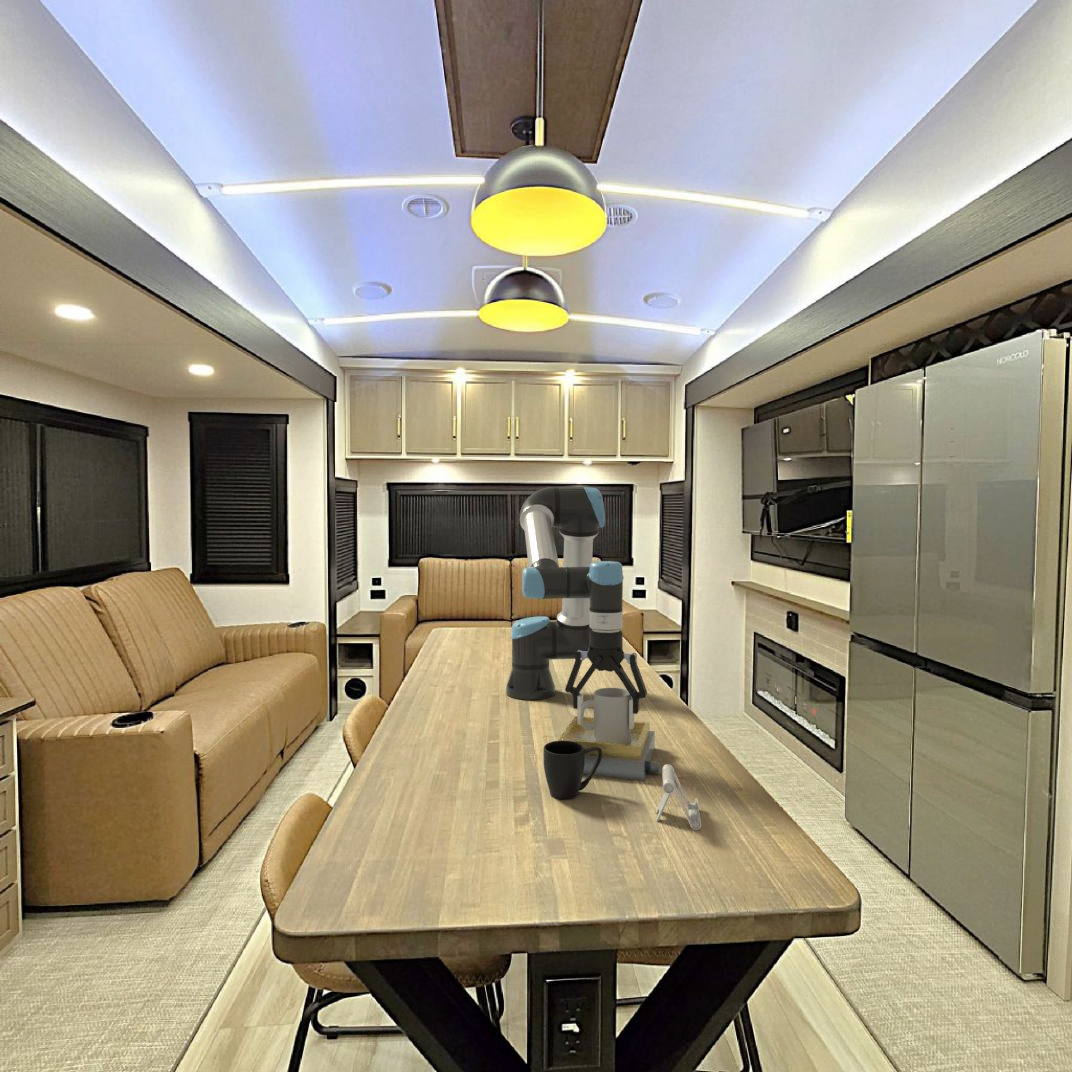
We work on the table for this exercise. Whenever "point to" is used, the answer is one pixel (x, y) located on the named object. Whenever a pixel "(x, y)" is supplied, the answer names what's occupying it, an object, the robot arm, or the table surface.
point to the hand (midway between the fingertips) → (605, 725)
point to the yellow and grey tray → (617, 751)
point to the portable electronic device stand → (671, 788)
